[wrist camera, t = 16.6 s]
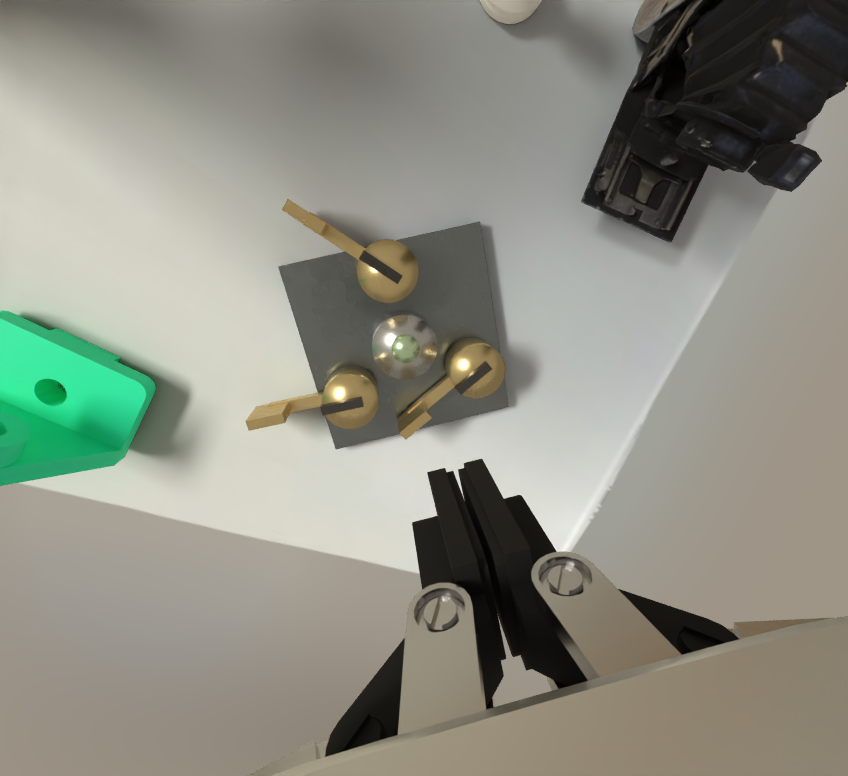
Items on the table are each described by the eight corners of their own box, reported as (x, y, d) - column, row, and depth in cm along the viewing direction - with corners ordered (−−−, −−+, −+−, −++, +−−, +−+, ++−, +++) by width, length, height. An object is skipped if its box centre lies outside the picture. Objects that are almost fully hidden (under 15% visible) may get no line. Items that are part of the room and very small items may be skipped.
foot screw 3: (474, 326, 35) (485, 334, 32) (504, 364, 36) (517, 375, 33) (383, 404, 36) (384, 419, 33) (415, 437, 37) (420, 455, 34)
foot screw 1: (424, 261, 33) (431, 262, 30) (395, 309, 34) (398, 315, 30) (307, 181, 30) (300, 173, 27) (279, 235, 31) (268, 233, 28)
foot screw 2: (371, 361, 35) (371, 372, 32) (382, 409, 36) (383, 425, 33) (249, 386, 34) (236, 400, 31) (265, 434, 36) (255, 452, 32)
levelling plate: (281, 266, 33) (270, 267, 29) (476, 222, 34) (488, 219, 30) (336, 443, 38) (333, 463, 35) (504, 402, 39) (518, 417, 35)
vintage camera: (551, 201, 34) (764, 164, 16) (644, -17, 30) (1087, -419, 12) (645, 244, 37) (928, 255, 18) (744, 47, 32) (1251, -203, 14)
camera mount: (166, 378, 35) (86, 426, 25) (131, 450, 36) (44, 523, 27) (7, 303, 32) (-154, 325, 22) (-23, 386, 33) (-186, 441, 24)
